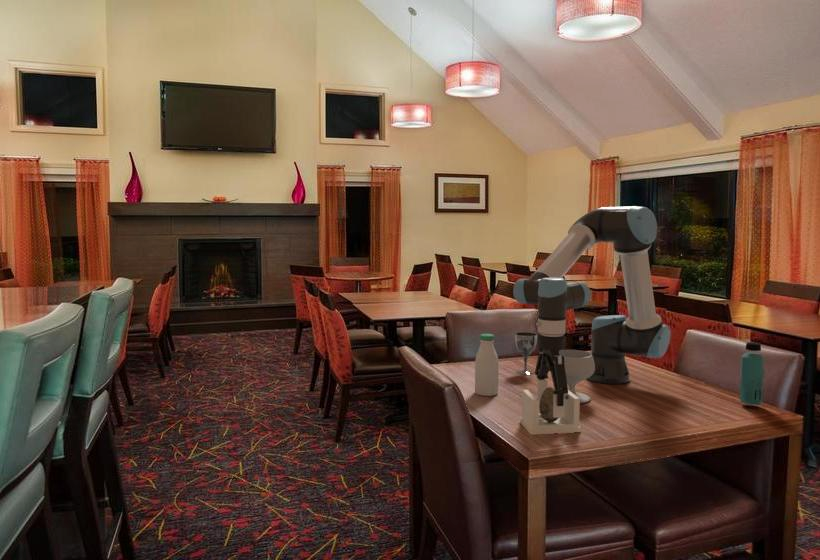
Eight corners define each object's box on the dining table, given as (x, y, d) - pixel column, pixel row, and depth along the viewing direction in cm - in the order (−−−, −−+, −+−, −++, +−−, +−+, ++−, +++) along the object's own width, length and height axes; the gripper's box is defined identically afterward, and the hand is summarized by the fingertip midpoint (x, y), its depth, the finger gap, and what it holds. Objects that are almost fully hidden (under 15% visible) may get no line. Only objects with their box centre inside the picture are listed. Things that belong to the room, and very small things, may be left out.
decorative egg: (560, 426, 163) (559, 392, 161) (538, 424, 165) (537, 390, 163) (562, 417, 168) (561, 384, 166) (541, 416, 170) (540, 382, 168)
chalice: (545, 392, 200) (546, 348, 199) (587, 392, 200) (588, 348, 198) (554, 405, 186) (555, 358, 185) (599, 405, 186) (600, 358, 184)
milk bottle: (497, 397, 195) (498, 337, 193) (473, 396, 196) (474, 336, 194) (498, 390, 202) (499, 332, 200) (475, 389, 204) (476, 332, 202)
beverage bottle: (754, 410, 180) (757, 345, 178) (733, 404, 186) (736, 341, 184) (767, 407, 183) (771, 343, 181) (746, 401, 189) (750, 339, 187)
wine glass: (539, 371, 227) (539, 333, 226) (531, 376, 221) (532, 336, 219) (519, 369, 232) (520, 331, 230) (511, 373, 225) (512, 334, 223)
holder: (567, 420, 172) (568, 388, 171) (580, 432, 162) (581, 398, 161) (520, 422, 171) (520, 389, 170) (530, 434, 161) (531, 400, 160)
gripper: (524, 326, 176) (523, 396, 178) (553, 343, 151) (552, 424, 153) (549, 325, 177) (548, 395, 179) (582, 342, 152) (580, 423, 154)
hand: (550, 409), depth 166 cm, fingers open, 13 cm apart
